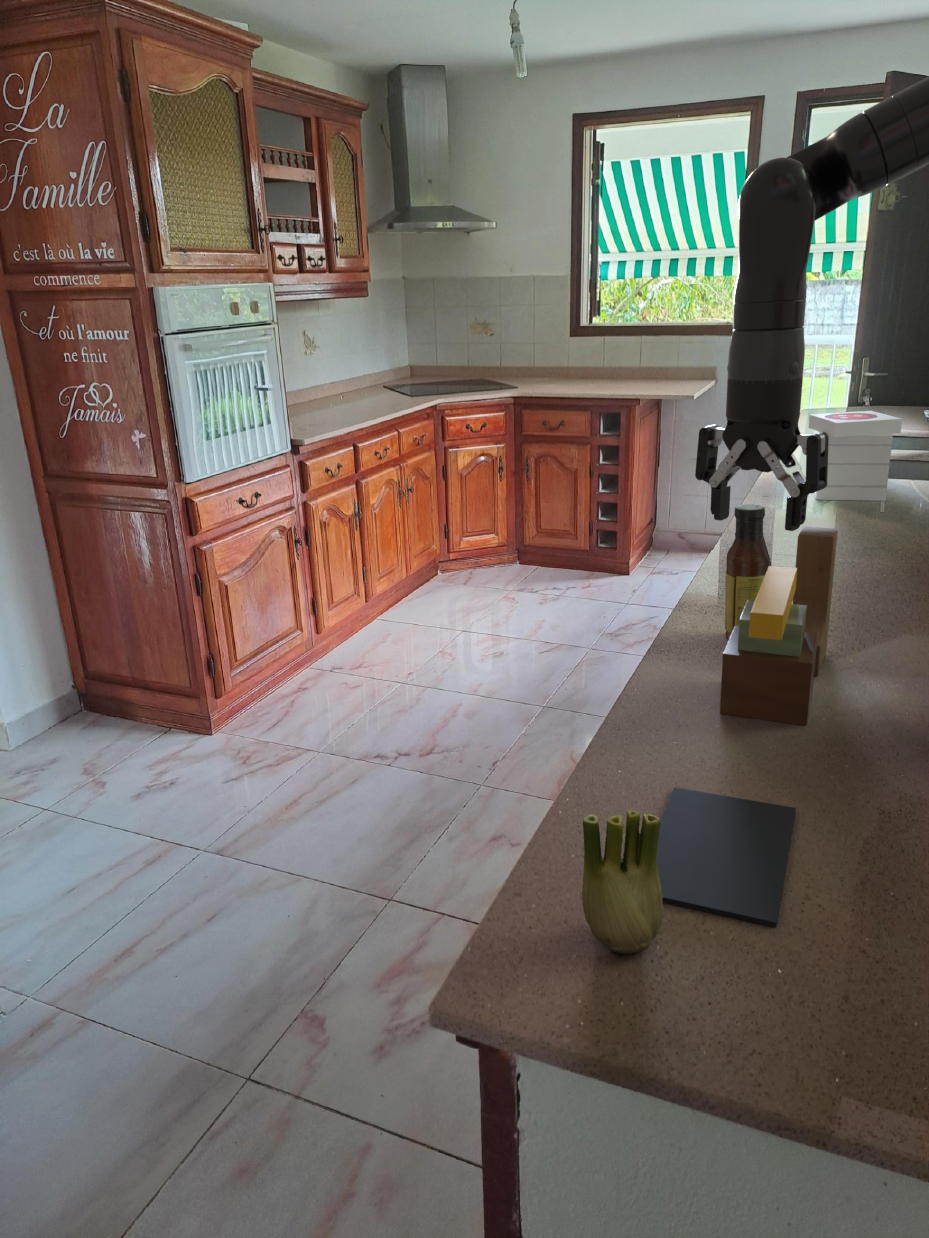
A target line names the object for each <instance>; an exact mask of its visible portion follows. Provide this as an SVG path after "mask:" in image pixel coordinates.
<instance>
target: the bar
mask: <svg viewBox="0 0 929 1238" xmlns="http://www.w3.org/2000/svg"><path fill="white" fill-rule="evenodd" d="M796 579H797V568H795V567H790V566H778V565H777V566H775V565H771V566H768V569H767V572H766V574H765V577H764V579H763V582H762V584H761V587H760V589H759V592H758V595H757V597H756V600H755V602H754V605H753V607H752V610H751V613H750V627H749V637H752V638H762V639H772V640H782V637H783V633H784V630H785V626H786V623H787V619H788V615H789V612H790V608H791V605H792V604H793V597H794V594H795V590H796Z"/></svg>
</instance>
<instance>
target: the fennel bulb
mask: <svg viewBox="0 0 929 1238" xmlns="http://www.w3.org/2000/svg"><path fill="white" fill-rule="evenodd" d="M625 813H626V822H625V835H624V824H623V823H624V820H623V819H624V818H623V816H622V815H620V814H613V815H612V816H609V817H608V818H607V819H606V830H605V841H604V855H602V847H601V846H602V845H601V844H602V843H601V833H600V824H599V819H598V818H599V817H598V816H597V815H595V814H593V813H592V814H588V815H586V816H584V817H583V818H582V832H583V849H584V850H583V852H584V853H583V875H582V887H581V900H582V908H583V914H584V917H585V918H584V919H585V921H586V924H588V926H589V929H590V931H591V933H592V936H594V938H595V939H596V940H597V941H599V942H600V943H602V944H603V946H605V947H607V948H608V949H609V950H610V951H612V952H615V953H617V954H621V955H635V954H638V953H639V954H640V953H642V952H644V951H645V950H646V949H648V948H650V946H651V943H652V942H653V941H654V940H655V939H656V937H657V935H658V933H659V932H660V929H661V926H662V920H663V909H664V908H663V904H664V902H662V891H661V885H660V879H659V873H658V866H657V850H658V839H659V830H660V824H661V821H660V820H661V818H659V817H658V816H656V815H655V814H650V813H649V814H647V813H645V814H642V820H641V814H640V812H639V811H636V810H632V809H627V810H626V811H625ZM640 820H641V822H640ZM640 823H641V828H640ZM623 835H624V836H625V837H624V847H623V848H622V846H623ZM622 849H623V850H622ZM622 851H623V853H622ZM602 856H603V857H602ZM622 856H623V857H622Z"/></svg>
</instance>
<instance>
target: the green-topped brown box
mask: <svg viewBox="0 0 929 1238" xmlns="http://www.w3.org/2000/svg"><path fill="white" fill-rule="evenodd" d="M754 602H755V601H747V603H746V605H745V608H744V610H743V612H742V615H741V617H740V620H739V625H735V626H734V629H733V631H732V633H731V636H730V638H729V640H728V641H727V643H726V645H725V647H724V650H723V652H722V660H721V661H722V662H721V664H722V665H721V679H720V680H721V682H720V702H719V714H720V715H726V716H734V717H741V718H748V719H757V720H765V721H769V722H770V721H771V722H779V723H786V724H793V725H801V726H807V725H808V720H809V714H810V709H811V703H812V696H813V691H814V681H815V680H814V679H815V676H814V671H815V660H816V649H817V639H818V633H814V632H805V622H806V610H807V605H796V604H793V603H792V605H791V608H790V612H789V615H788V619H787V623H786V626H785V630H784V633H783V637H782V640H772V639H762V638H752V637H749V627H750V613H751V610H752V607H753V605H754Z"/></svg>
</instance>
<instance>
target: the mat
mask: <svg viewBox="0 0 929 1238" xmlns="http://www.w3.org/2000/svg"><path fill="white" fill-rule="evenodd" d="M796 810H797V809H796V807H793V806H787V805H781V804H775V803H770V802H764V801H757V800H752V799H748V798H746V799H745V798H742V797H741V798H740V797H736V796H735V797H734V796H729V795H722V794H717V793H713V792H712V793H711V792H706V791H698V790H695V789H689V788H688V789H687V788H682V787H677V786H674V787H673V789H672V791H671V793H670V796H669V798H668V801H667V804H666V806H665V808H664V810H663V813H662V815H661V818H660V821H661V824H660V830H659V839H658V850H657V866H658V873H659V879H660V885H661V891H662V902H663V903H666V904H671V905H675V906H678V907H683V908H688V909H692V910H697V911H702V912H706V913H709V914H710V913H711V914H715V915H719V916H723V917H728V918H733V919H736V920H742V921H746V922H750V923H756V924H760V925H764V926H767V927H773V928H777V926H778V921H779V920H778V919H779V914H780V907H781V902H782V895H783V889H784V883H785V879H786V872H787V865H788V859H789V854H790V847H791V841H792V836H793V830H794V823H795V822H794V821H795V816H796Z"/></svg>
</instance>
